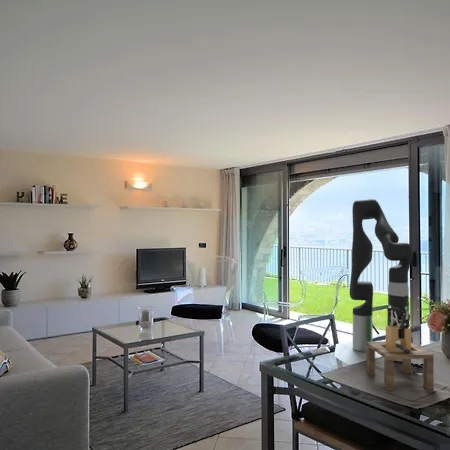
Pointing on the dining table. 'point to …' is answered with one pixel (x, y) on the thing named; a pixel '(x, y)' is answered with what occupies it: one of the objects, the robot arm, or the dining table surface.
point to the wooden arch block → (393, 335)
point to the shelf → (391, 356)
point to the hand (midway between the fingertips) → (398, 336)
